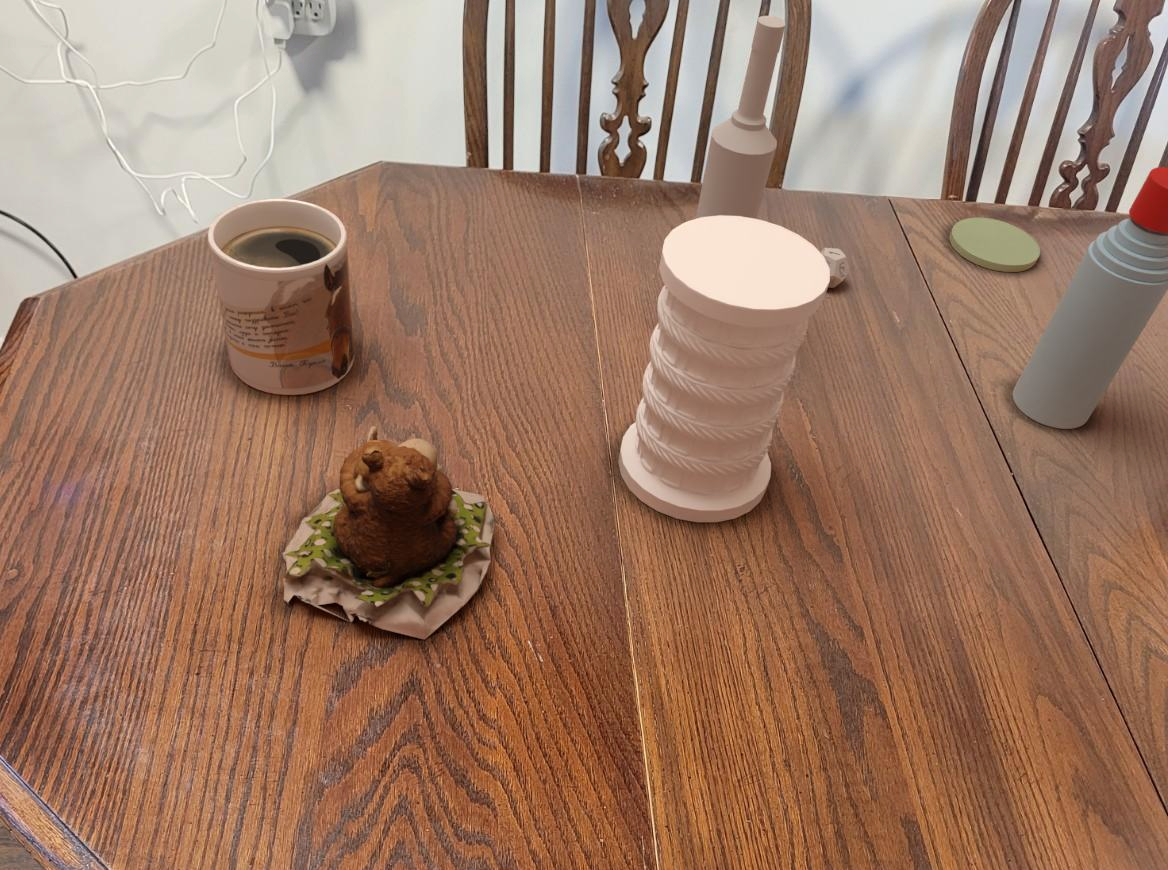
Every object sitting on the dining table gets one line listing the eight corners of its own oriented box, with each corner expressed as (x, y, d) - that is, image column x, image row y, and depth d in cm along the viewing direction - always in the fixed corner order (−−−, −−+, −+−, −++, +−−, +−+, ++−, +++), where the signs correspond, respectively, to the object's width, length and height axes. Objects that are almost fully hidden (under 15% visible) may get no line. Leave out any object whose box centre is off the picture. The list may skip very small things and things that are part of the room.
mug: (204, 339, 85) (179, 212, 76) (336, 298, 90) (327, 175, 82) (265, 411, 80) (245, 284, 71) (401, 363, 85) (397, 239, 77)
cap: (1179, 213, 78) (1202, 174, 76) (1186, 238, 76) (1209, 199, 74) (1126, 201, 79) (1147, 162, 76) (1131, 226, 76) (1152, 186, 74)
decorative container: (618, 515, 76) (658, 302, 63) (618, 413, 84) (654, 203, 70) (774, 529, 77) (848, 322, 63) (760, 427, 84) (823, 222, 71)
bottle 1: (663, 307, 94) (722, 9, 75) (712, 298, 96) (782, 4, 77) (691, 341, 91) (760, 39, 72) (741, 330, 93) (821, 33, 74)
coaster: (1035, 236, 110) (1039, 229, 109) (1038, 280, 104) (1041, 273, 103) (950, 216, 110) (953, 209, 110) (947, 259, 105) (950, 252, 104)
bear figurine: (526, 511, 75) (540, 375, 66) (440, 663, 66) (442, 528, 57) (356, 455, 77) (346, 314, 68) (247, 594, 68) (219, 453, 59)
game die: (841, 296, 98) (851, 268, 96) (803, 286, 99) (811, 257, 96) (846, 277, 100) (856, 249, 98) (809, 267, 101) (817, 239, 99)
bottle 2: (1086, 391, 92) (1215, 175, 77) (1091, 437, 88) (1228, 217, 73) (1011, 373, 93) (1124, 155, 78) (1012, 417, 89) (1132, 196, 73)
